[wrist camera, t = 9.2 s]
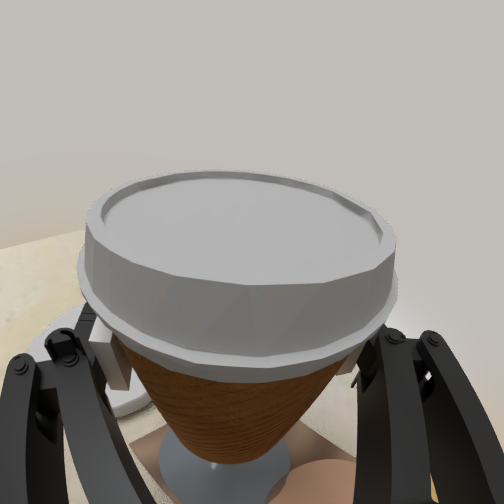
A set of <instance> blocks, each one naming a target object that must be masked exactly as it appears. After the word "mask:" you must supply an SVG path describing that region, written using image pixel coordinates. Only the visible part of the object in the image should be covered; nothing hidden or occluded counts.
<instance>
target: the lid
mask: <svg viewBox="0 0 504 504" xmlns="http://www.w3.org/2000/svg"><path fill="white" fill-rule="evenodd" d="M83 307H84V304H83V305H80V306H77V307H74V308H72V309H71V310H69V311H67V312H66V313H64V314H62V315H61V316H59V317H58V318H57V319H56V320H55V321H54V322H53V323H52V324H51V325H50V326H49V327H48V328H47V329H46V330H44V331H43V332H41V333H40V334H39V335H38V336H37V337H36V338H35V339H34V340H33V342H32V343H31V345H30V347H29V348H28V350H27V354H29V355H31V356H32V357H33V358H34V360H35V362H40V361H47V360H51V358H50V356H49V354H48V352H47V350H46V348H45V347H44V343H45V339H46V338H47V336H48V335H49V334H50V333H51V332H52V331H54V330H56V329H59V328H66V327H67V328H71V329H73V330H74V328H75V326H76V323H77V321H78V318H79V316H80V314H81V311H82V309H83ZM105 392H106V394H107V396H108V398H109V401H110V404H111V407H112V410H113V413H114V415H115V418H117V417H124V416H126V415H128V414H131V413H133V412H135V411H137V410H140V409H142V408H144V407H145V406H146V405H147V404H148V403H149V402H151V401H152V399H151V398H150V396H149V394H148V392H147V391H146V389H145V388H144V386H143V384H142V383H141V381H140V380H139V378H138V376H137V374H136V372H135V371H134V369H133V367H132V373H131V380H130V389H129V391H120V390H111V389H110V387H109V385H108V383H106V389H105Z"/></svg>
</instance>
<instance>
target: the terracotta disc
mask: <svg viewBox="0 0 504 504" xmlns="http://www.w3.org/2000/svg"><path fill="white" fill-rule="evenodd" d="M287 474H288V473H287ZM287 474H286V475H287ZM355 474H356V463H355V462H351V461H347V460H340V459H324V460H318V461H313V462H309V463H306V464H304V465H301V466H299V467H297V468H295V469H293V470H291V471H290V472H289V474H288V475H287V476H286V477H287V479H286V478H285V477H283V478H284V480H286V481H287V482H285V481H284V482H283V480H281V479H283V478H281V479H279V480H278V482H277V483H279V485H278V484H275V485H274V486H276V485H277V487H279V486H281V485H283V486H282V488H283V489H282V490H281V489H280V490H278V489H277V490H278V492H277V490H276V488H277V487H276V488H274V487H273V488H274V489H273V488H271V490H272V489H273V490H274V491H275V490H276V491H275V493H274V492H273V494H272V495H269V494H268V495H267V496H270V497H272V498H268V497H267V498H266V501H267V503H268V504H353V496H354V486H355ZM284 476H285V475H284ZM280 482H281V483H282V482H283V483H285V484H283V483H282V484H281V485H280ZM280 488H281V487H280ZM279 491H280V493H279ZM269 493H272V492H269ZM276 493H277V494H278V495H277V494H276ZM276 495H277V496H276ZM275 496H276V497H275ZM273 497H274V498H273ZM267 499H268V500H269V501H270V502H268V500H267ZM265 504H266V503H265Z"/></svg>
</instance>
